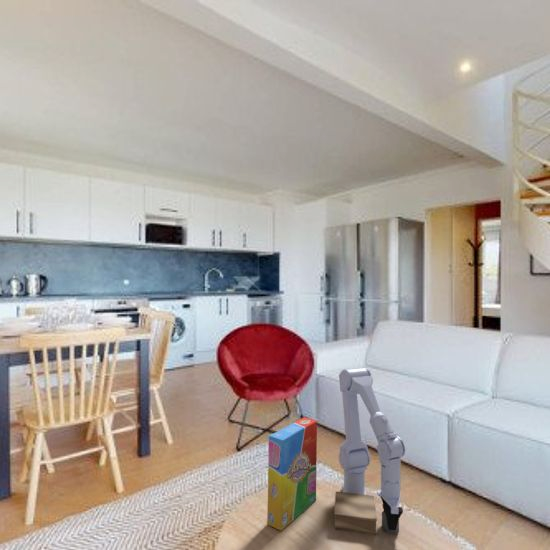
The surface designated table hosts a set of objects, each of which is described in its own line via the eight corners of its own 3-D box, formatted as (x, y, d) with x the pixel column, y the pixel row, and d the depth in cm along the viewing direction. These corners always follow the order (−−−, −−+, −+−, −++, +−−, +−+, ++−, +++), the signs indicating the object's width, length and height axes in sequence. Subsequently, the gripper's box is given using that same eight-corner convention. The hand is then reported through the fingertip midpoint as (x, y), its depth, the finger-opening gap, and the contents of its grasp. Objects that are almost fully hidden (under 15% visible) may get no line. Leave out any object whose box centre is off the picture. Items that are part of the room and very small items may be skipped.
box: (336, 505, 124) (336, 493, 124) (373, 510, 122) (373, 497, 122) (334, 529, 112) (335, 515, 112) (376, 534, 110) (376, 521, 110)
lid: (335, 493, 124) (335, 491, 124) (373, 497, 122) (374, 495, 122) (334, 515, 112) (334, 513, 112) (376, 521, 110) (376, 519, 110)
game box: (280, 532, 111) (281, 440, 111) (266, 524, 114) (267, 435, 114) (316, 499, 127) (317, 420, 128) (303, 494, 131) (304, 416, 131)
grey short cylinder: (381, 521, 116) (381, 508, 116) (397, 523, 115) (397, 510, 115) (382, 532, 111) (382, 518, 111) (400, 534, 110) (400, 520, 110)
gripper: (374, 465, 121) (373, 507, 121) (380, 490, 107) (380, 538, 106) (396, 467, 120) (396, 509, 120) (406, 492, 106) (405, 540, 106)
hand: (390, 523), depth 113 cm, fingers closed on grey short cylinder, 5 cm apart
